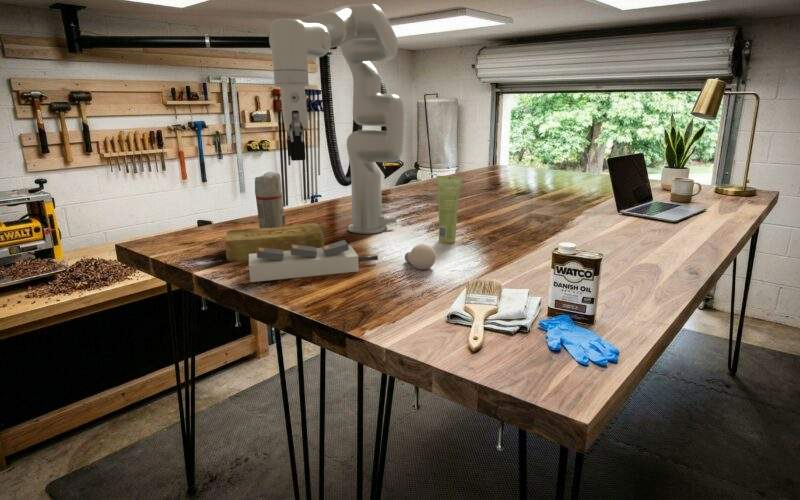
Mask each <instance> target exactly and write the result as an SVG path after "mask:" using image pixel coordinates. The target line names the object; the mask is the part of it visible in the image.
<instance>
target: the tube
mask: <svg viewBox="0 0 800 500" xmlns="http://www.w3.org/2000/svg"><path fill="white" fill-rule="evenodd" d="M462 183H463V176H446V175H436V185H437V186H436V187H437V198H438V200H437V202H438V203H437V204H438V241H439V242H440V243H443V244H444V243H446V244H450V243H455V242H456V236H457V235H456V234H457V222H458V210H459V203H460V201H459V200H460V193H461V188H462V187H461V186H462Z"/></svg>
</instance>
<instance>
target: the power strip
mask: <svg viewBox="0 0 800 500" xmlns="http://www.w3.org/2000/svg"><path fill="white" fill-rule="evenodd" d="M348 248H349V250H347V251H344V252H340V253H337V254H334V255H330V256H327V257H325V254H324V252H323V249H322V248H316V250H317V255H316V258H314V257H305V256H296V255H291V252H290V250H289V251H283V254H284V255H283V261H280V260H271V259H261V258H257V253H254V254H249V261H248V271H249V281H250V283H256V282H265V281H266V282H267V281H275V280H276V281H277V280H287V279H295V278H297V279H298V278H306V277H317V276H327V275H334V274H336V275H337V274H346V273H355V272H356V273H357V272H359V271H360V270H359V262H370V261H371V262H372V261H378V260H379V256H378V255H377V254H375V255H367V256H359V255H358V254H357V252H356V250H355V249H354V248H353V246H352V245H350V244H349V245H348Z"/></svg>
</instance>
